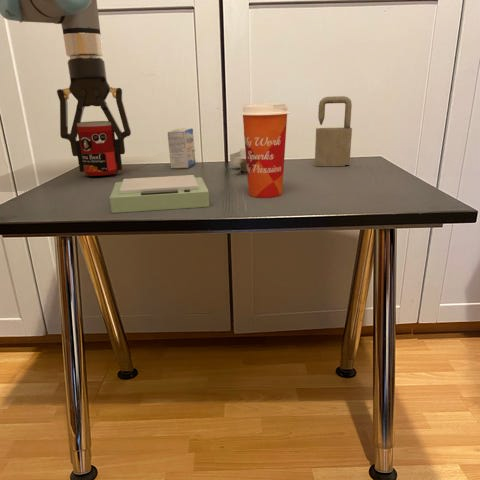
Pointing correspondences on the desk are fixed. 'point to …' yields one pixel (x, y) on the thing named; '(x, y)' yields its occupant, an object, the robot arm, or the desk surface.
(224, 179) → the desk surface
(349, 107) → the padlock
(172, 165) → the medicine box
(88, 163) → the canned food
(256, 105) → the coffee cup
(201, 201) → the scale
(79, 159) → the robot arm
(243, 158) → the bunny figurine
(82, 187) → the desk surface
